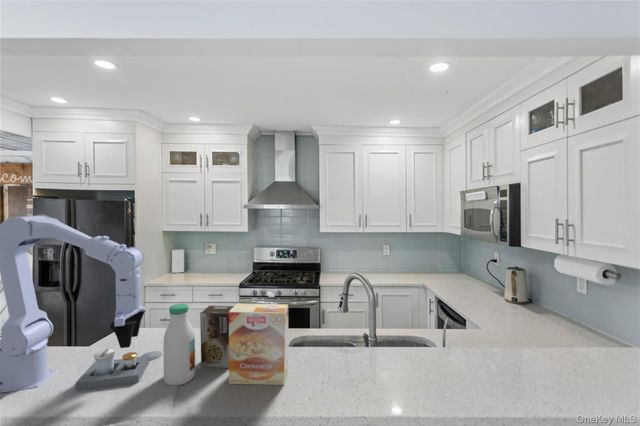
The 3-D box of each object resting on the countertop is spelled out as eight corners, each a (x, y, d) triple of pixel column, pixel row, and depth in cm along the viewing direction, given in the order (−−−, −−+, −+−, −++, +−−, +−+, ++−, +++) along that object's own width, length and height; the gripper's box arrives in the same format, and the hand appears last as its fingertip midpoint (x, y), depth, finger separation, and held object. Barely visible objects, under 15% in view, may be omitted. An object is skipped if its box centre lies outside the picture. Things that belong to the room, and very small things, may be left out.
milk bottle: (183, 388, 78) (182, 312, 77) (157, 384, 79) (155, 309, 79) (200, 372, 85) (200, 302, 85) (176, 368, 87) (175, 300, 86)
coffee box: (238, 357, 94) (238, 305, 93) (230, 368, 87) (229, 313, 86) (210, 355, 94) (209, 304, 94) (199, 366, 88) (199, 312, 87)
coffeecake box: (228, 384, 80) (227, 311, 79) (236, 369, 87) (236, 302, 86) (284, 386, 79) (284, 312, 78) (288, 370, 86) (288, 303, 86)
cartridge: (91, 382, 79) (90, 357, 79) (99, 373, 84) (98, 349, 83) (111, 380, 80) (110, 355, 80) (117, 370, 85) (117, 347, 85)
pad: (137, 363, 89) (137, 362, 89) (143, 353, 95) (143, 352, 95) (159, 360, 91) (159, 359, 91) (164, 351, 97) (164, 350, 97)
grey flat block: (76, 392, 76) (75, 382, 76) (94, 370, 86) (94, 362, 86) (138, 383, 80) (138, 374, 80) (149, 363, 89) (149, 355, 89)
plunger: (120, 372, 81) (120, 359, 81) (125, 365, 85) (124, 352, 85) (134, 370, 82) (134, 357, 82) (138, 363, 86) (138, 351, 85)
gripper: (136, 300, 77) (137, 352, 77) (152, 284, 91) (152, 329, 91) (104, 302, 75) (105, 356, 75) (125, 286, 89) (126, 331, 89)
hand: (129, 341), depth 83 cm, fingers open, 6 cm apart
